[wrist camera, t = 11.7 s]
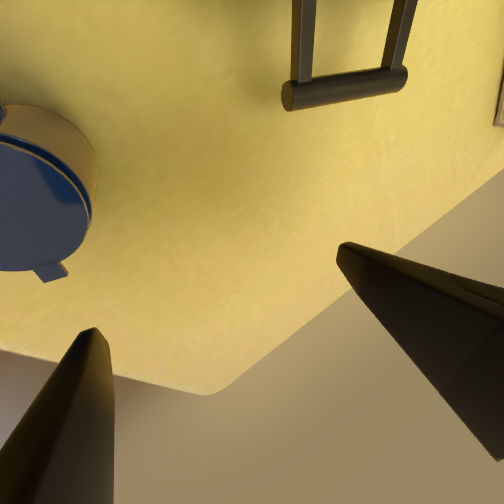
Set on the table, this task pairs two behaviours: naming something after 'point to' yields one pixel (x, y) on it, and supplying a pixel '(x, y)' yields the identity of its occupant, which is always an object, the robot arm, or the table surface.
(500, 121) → the cake pan box
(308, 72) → the drawer
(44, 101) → the table surface
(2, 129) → the blue lidded mug
